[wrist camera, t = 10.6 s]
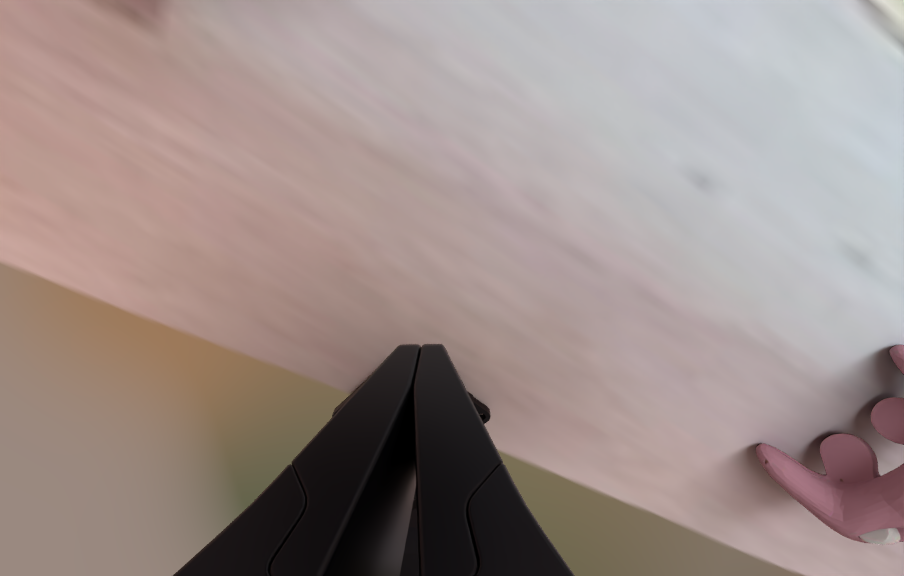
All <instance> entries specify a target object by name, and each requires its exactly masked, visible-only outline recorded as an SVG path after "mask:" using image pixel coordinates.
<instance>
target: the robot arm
mask: <svg viewBox="0 0 904 576" xmlns="http://www.w3.org/2000/svg"><path fill="white" fill-rule="evenodd" d="M479 414H483V415H479ZM489 419H490V409H489V408H488V407H487V406H486V405H484V404H483V403H481V402H480V401H479V400H477V399H476V398H474V397H473V395H472V394H470V393H469V392H468V391H467V390H466V388H465V386H464V384H463V382H462V380H461V378H460V376H459V374H458V373H457V371H456V369H455V367H454V365H453V363H452V361H451V359H450V357H449V355H448V353H447V351H446V349H445V347H444V346H443V345H442V344H424V345H423V346H422V347H421V346H420V345H418V344H409V345H399V346H398V347H397V348H396V349H395V350H394V351H393V352H392V353H391V354H390V355H389V356H388V358H387V359H386V360H385V361H384V362H383V363H382V364H381V365H380V366H379V367H378V368H377V369H376V371H375V372H374V373H373V374H372V375H371V376H370V377H369V378H368V379H367V380H366V381H365V382H364V383H363V384H362V385H361V386H360V387H358V388H357V389H356V390H355V391H354V392H353V393H352V394H351V395H350V396H348V397H347V398H346V399H345V400H344V401H343V402H342V403H341V404H340V405H339V406H337V407H336V408H335V410H334V412H333V415H332V418H331V419H330V421H329V422H328V423H327V424H326V425H325V426H324V427H323V428H322V429H321V430H320V431H319V432H318V434H317V435H316V436H315V437H314V438H313V439H312V440H311V441H310V442H309V443H308V444H307V446H306V447H305V448H304V449H303V450H302V451H301V452H300V453H299V454H298V455H297V456H296V457H295V459H294V460H293V461H292V465H291V464H290V465H288V466H287V467H286V468H285V469H284V470H283V471H282V472H281V474H280V475H279V476H278V477H277V478H276V479H275V480H274V481H273V482H272V483H271V484H270V485H269V486H268V487H267V488H266V489H265V490H264V491H263V492H262V494H260V495H259V496H258V498H257V499H256V500H255V501H254V502H253V503H252V504H251V505H250V506H249V507H248V508H246V509H245V510H244V511H243V512H242V513H241V514H240V515H239V516H238V517H237V518H236V519H235V520H234V521H233V522H232V523H230V525H229V526H227V527H226V528H225V529H224V530H223V531H222V532H221V533H220V534H219V535H217V536H216V537H215V539H213V540H212V541H211V542H210V543H209V544H207V545H206V546H205V547H204V548H203V549H202V550H201V551H200V552H199V553H198V554H196V555H195V556H194V557H193V558H192V559H191V560H190V561H189V562H188V563H187V564H185V565H184V566H183V567H182V568H181V569H180V570H179V571H178V572H176V573H175V574H174V575H173V576H574V574H573V573H572V571H571V570H570V568H569V567H568V566H567V564H566V563H565V561H564V560H563V558H562V557H561V556H560V554H559V553H558V551H557V550H556V549H555V547H554V546H553V544H552V543H551V541H550V540H549V539H548V537H547V536H546V534H545V533H544V531H543V530H542V528H541V527H540V525H539V524H538V522H537V521H536V519H535V518H534V516H533V515H532V513H531V512H530V510H529V508H528V507H527V505H526V503H525V502H524V500H523V498H522V496H521V494H520V493H519V491H518V489H517V487H516V486H515V484H514V482H513V480H512V478H511V476H510V474H509V472H508V470H507V468H506V466H505V465H504V464H503V461H502V459H501V457H500V455H499V453H498V451H497V449H496V447H495V445H494V443H493V441H492V439H491V437H490V435H489V433H488V431H487V429H486V427H485V426H484V424H485V423H486V422H488V421H489Z"/></svg>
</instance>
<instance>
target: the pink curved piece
mask: <svg viewBox="0 0 904 576" xmlns="http://www.w3.org/2000/svg"><path fill="white" fill-rule="evenodd" d="M889 351H890V355H891V357H892V359H893V361H894V363H895V364H896V365H897V367H898V368H899V369H900V371H901V372H902V373H903V375H904V345H895V346H894V347H892V348H891V349H890V350H889ZM871 422H872V424H873V426H874V428H875V429H876V430H877V431H878V432H879V434H881V435H882V436H884V437H885V438H887V439H889V440H891V441H893V442H895V443H899V444H903V445H904V398H897V397H891V398H886V399H883V400H881V401H880V402H878V403H877V404H876V405H875V406H874V408H873V410H872V412H871ZM756 453H757V456H758V459H759V461H760V463H761V464H762V466H763V467H764V469H765V470H766V471H767V472H768V474H769V475H770V476H771V477H772V478H773V479H774V480H775V481H776V482H777V483H778V484H779V485H780V486H781V487H782V488H784V489H785V490H786V491H787V492H788V493H789V494H790V495H791V496H792V497H793V498H795V499H796V500H797V501H798V502H799V503H800V504H802V505H803V506H804V507H805V508H806V509H807V510H809V511H810V512H811V513H812V514H813V515H815V516H816V517H817V518H818V519H819V520H821V521H822V522H823V523H824V524H826V525H827V526H828V527H830V528H831V529H833V530H834V531H836V532H838V533H839V534H841V535H843V536H845V537H847V538H850V539H852V540H856V541H860V542H864V543H870V544H880V545H887V544H895V543H898V542H903V541H904V464H902V465H901V466H899V467H898V468H896V469H894V470H892V471H890V472H888V473H887V474H885V475H883V476H880V474H879V472H878V462H877V458H876V455H875V453H874V451H873V450H872V448H871V447H870V446H869V444H867V443H866V442H865V441H864V440H862V439H861V438H859V437H857V436H854V435H852V434H845V433H840V434H834V435H831V436H829V437H827V438H826V439H824V440H823V442H822V443H821V446H820V454H821V458H822V461H823V463H824V466H825V470H826V475H822V474H819V473H816V472H814V471H812V470H810V469H808V468H806V467H805V466H803V465H802V464H800V463H799V462H797V461H796V460H794V459H793V458H791V457H790V456H789V455H787V454H785V453H784V452H782V451H780V450H778V449H776V448H775V447H772V446H770V445H766V444H760V445H758V446H757V447H756Z"/></svg>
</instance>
